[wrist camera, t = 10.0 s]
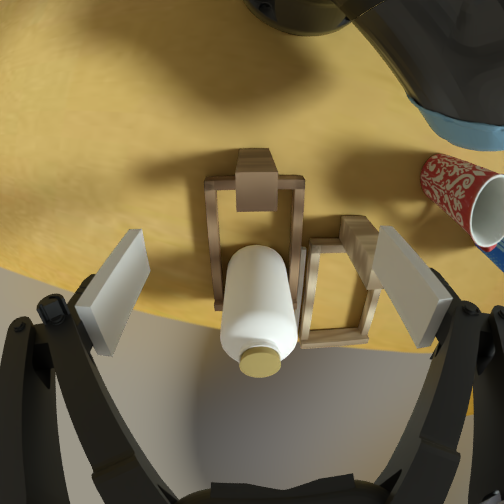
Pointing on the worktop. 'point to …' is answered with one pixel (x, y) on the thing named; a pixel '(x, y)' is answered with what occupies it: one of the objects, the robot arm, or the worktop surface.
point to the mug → (467, 197)
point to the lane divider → (300, 284)
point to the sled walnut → (255, 209)
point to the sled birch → (362, 255)
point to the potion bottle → (258, 311)
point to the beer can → (496, 254)
